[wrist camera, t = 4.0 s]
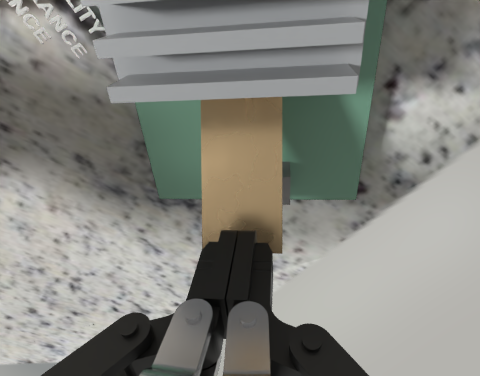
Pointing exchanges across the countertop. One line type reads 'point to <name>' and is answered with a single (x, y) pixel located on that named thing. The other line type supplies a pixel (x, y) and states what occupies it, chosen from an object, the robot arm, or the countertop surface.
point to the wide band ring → (18, 1)
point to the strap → (242, 168)
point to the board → (248, 81)
